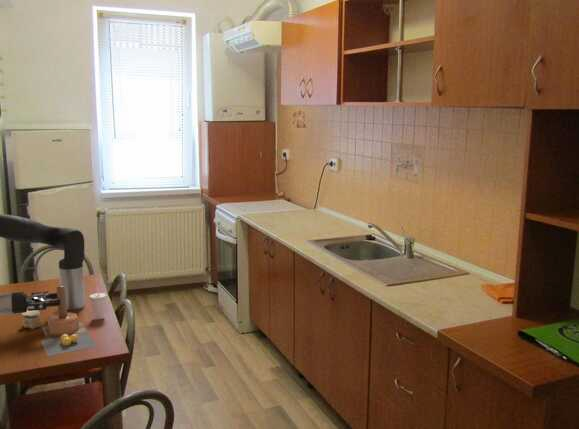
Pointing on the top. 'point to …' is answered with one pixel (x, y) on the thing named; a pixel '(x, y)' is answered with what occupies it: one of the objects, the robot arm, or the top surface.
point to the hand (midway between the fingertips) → (60, 298)
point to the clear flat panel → (49, 336)
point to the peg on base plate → (62, 316)
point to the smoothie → (98, 304)
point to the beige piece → (31, 319)
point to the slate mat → (57, 347)
